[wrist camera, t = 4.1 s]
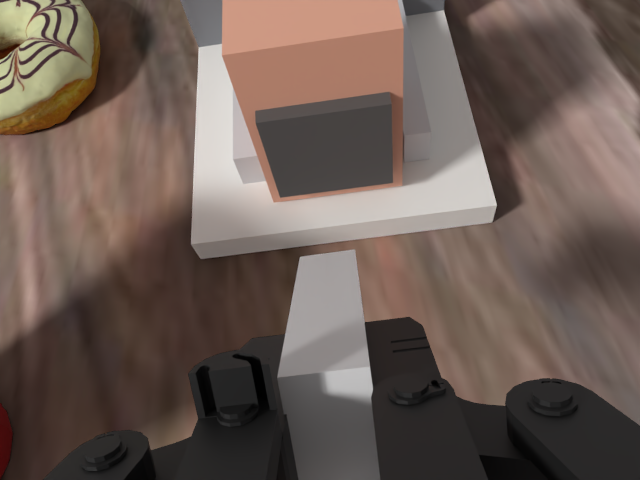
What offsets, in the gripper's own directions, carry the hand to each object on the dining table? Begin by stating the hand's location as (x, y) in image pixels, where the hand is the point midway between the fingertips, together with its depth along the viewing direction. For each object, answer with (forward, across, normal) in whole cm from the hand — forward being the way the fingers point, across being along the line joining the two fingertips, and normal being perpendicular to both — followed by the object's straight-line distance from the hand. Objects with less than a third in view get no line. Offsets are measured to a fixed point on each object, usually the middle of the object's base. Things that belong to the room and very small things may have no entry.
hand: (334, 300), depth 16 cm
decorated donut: (+22, +18, -8) cm, 30 cm away
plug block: (+13, 0, -2) cm, 13 cm away
